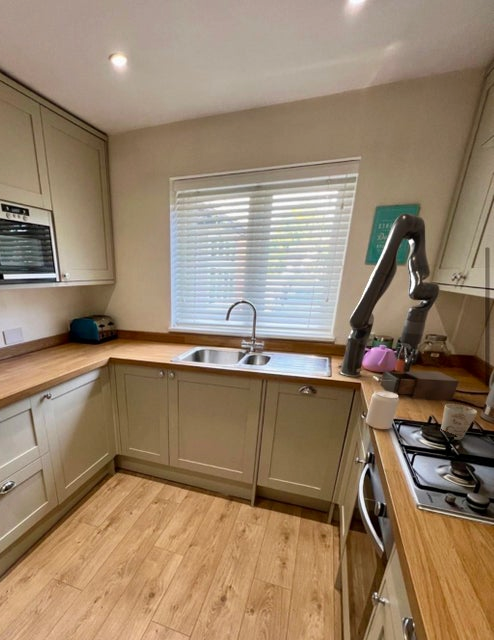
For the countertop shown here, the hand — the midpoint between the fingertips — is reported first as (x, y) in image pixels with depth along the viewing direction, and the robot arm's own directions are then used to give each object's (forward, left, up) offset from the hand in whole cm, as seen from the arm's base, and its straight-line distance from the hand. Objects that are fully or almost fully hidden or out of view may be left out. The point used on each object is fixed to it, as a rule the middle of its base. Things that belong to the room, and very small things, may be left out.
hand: (402, 369), depth 147 cm
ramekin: (0, 0, -1) cm, 1 cm away
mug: (+42, -1, -11) cm, 43 cm away
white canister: (+39, -24, -11) cm, 47 cm away
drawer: (0, 0, -10) cm, 10 cm away
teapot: (-36, +7, -11) cm, 38 cm away
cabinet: (0, +12, -11) cm, 16 cm away
